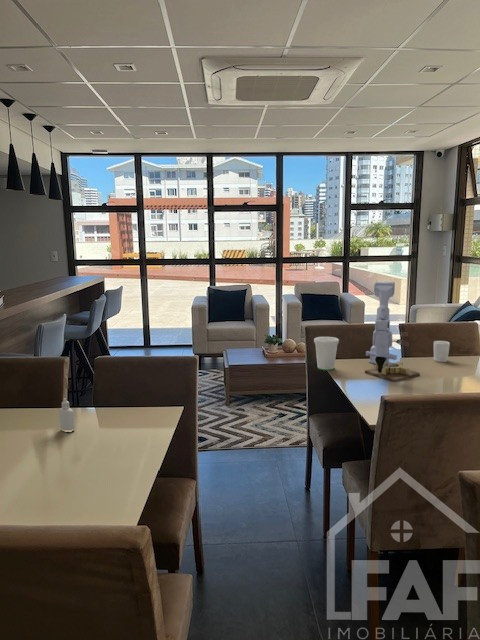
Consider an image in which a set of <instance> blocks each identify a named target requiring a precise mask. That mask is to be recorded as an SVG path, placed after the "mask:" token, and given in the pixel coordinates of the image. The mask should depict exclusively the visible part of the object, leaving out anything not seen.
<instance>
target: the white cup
mask: <svg viewBox="0 0 480 640" xmlns="http://www.w3.org/2000/svg"><path fill="white" fill-rule="evenodd" d="M450 344H451V343H450V342H449V341H446V340H434V341H433V361H434V362H438V363H439V362H440V363H447V362H448V361H449V360H448V358H449V353H450Z"/></svg>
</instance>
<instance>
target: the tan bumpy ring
mask: <svg viewBox="0 0 480 640" xmlns="http://www.w3.org/2000/svg"><path fill="white" fill-rule="evenodd" d="M389 362H390V363H389ZM389 362H388V363H384V364H383V368H381V374H385V375H386V374H389V373H391V374H394V373H395V374H398V373H401V374H405V375H407V374H409V370H410V368H409V367H406V366H403V365H404V364H403V362H402V361H397V362H392V363H391V361H389ZM388 364H396V365H397V367H389V366H388ZM375 368H378V365H377V362H376V364H375Z"/></svg>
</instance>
